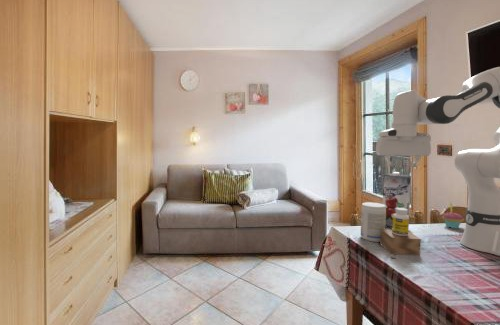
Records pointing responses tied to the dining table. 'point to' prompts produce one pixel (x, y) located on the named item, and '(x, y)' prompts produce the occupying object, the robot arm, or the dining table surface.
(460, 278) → the dining table surface
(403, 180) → the juice carton
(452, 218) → the cupcake
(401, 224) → the supplement bottle
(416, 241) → the walnut block
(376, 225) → the supplement tub
